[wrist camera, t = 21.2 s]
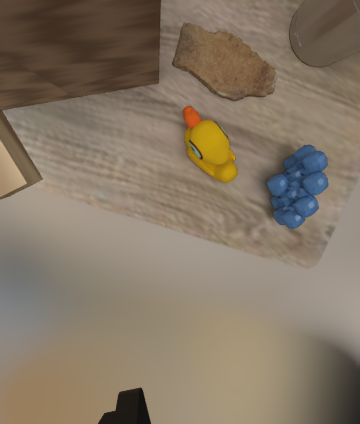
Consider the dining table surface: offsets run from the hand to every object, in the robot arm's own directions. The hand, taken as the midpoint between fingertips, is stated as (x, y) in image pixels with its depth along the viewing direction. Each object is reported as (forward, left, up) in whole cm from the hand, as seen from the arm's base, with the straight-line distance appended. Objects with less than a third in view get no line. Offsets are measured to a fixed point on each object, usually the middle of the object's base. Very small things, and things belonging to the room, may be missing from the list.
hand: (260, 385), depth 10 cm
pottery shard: (-10, -18, -39) cm, 43 cm away
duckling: (-5, -7, -38) cm, 39 cm away
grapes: (-15, 0, -38) cm, 41 cm away
